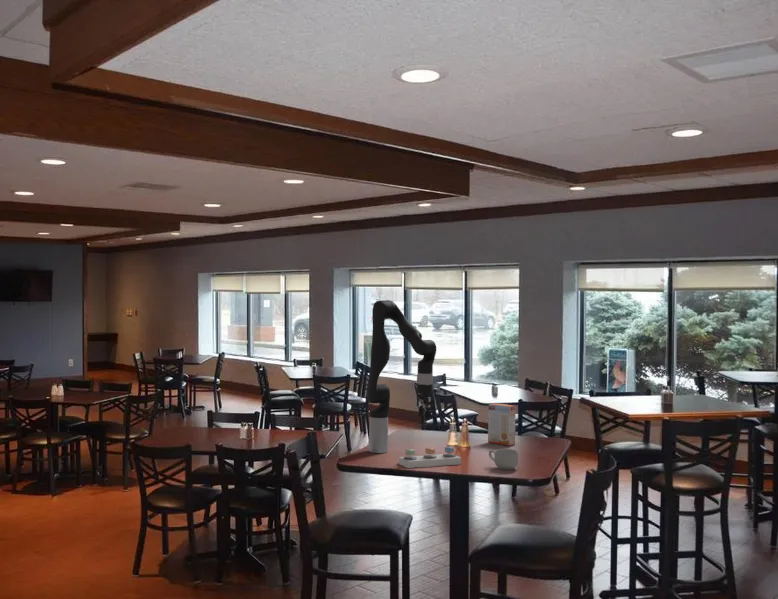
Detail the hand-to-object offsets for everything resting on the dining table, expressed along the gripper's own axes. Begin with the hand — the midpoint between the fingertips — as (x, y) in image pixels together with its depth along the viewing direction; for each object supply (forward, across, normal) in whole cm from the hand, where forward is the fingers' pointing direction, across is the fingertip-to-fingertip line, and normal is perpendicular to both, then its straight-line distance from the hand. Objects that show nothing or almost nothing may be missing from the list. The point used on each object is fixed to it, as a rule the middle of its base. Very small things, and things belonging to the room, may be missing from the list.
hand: (424, 417), depth 348 cm
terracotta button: (+16, +5, +2) cm, 16 cm away
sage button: (+15, +6, -8) cm, 19 cm away
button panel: (+20, +5, +2) cm, 21 cm away
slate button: (+15, +4, +11) cm, 20 cm away
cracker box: (+21, -35, +57) cm, 70 cm away
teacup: (+20, +20, +31) cm, 42 cm away
